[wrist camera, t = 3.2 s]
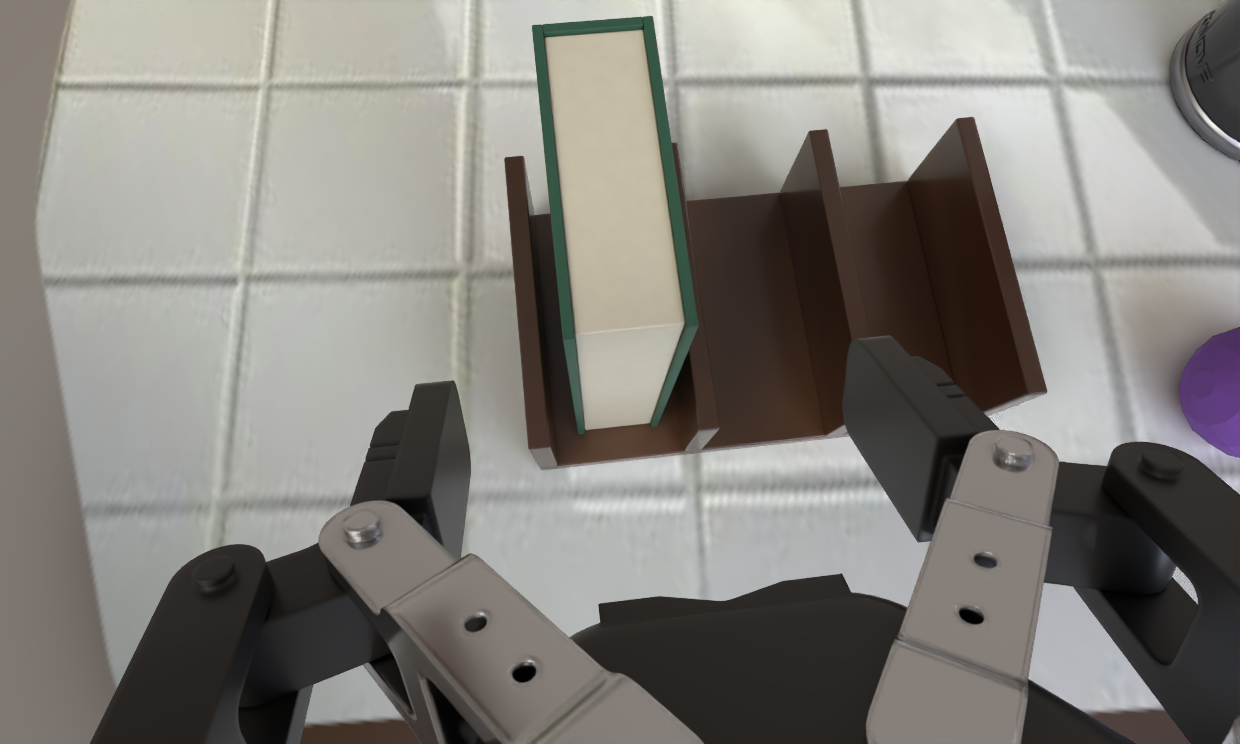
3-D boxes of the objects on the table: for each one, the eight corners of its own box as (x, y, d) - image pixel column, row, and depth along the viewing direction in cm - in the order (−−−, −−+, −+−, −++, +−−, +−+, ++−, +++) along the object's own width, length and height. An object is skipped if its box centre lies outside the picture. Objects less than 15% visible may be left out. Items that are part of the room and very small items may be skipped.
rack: (915, 187, 37) (974, 115, 31) (971, 423, 34) (1049, 393, 28) (519, 223, 36) (504, 156, 30) (541, 470, 33) (528, 449, 27)
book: (632, 229, 35) (652, 15, 21) (657, 426, 32) (698, 326, 19) (558, 236, 35) (531, 24, 21) (578, 435, 32) (562, 340, 19)
